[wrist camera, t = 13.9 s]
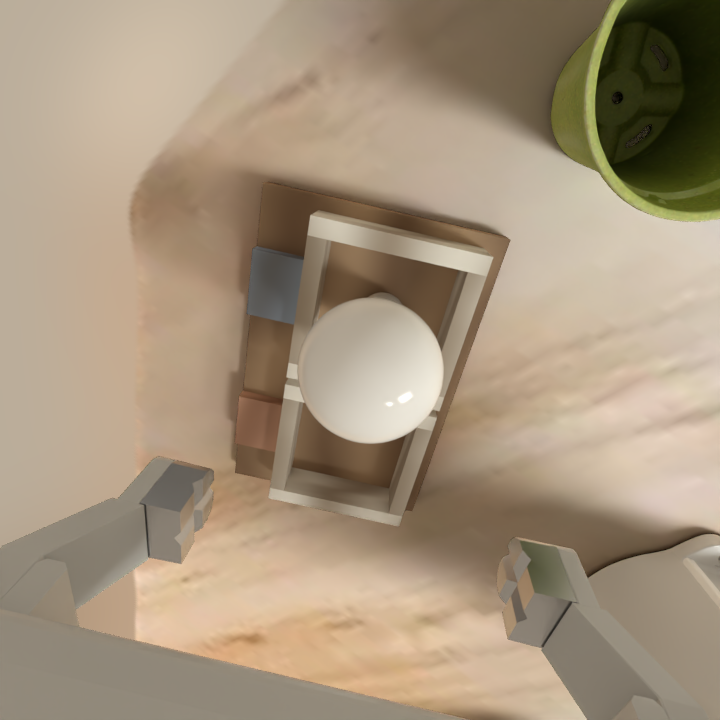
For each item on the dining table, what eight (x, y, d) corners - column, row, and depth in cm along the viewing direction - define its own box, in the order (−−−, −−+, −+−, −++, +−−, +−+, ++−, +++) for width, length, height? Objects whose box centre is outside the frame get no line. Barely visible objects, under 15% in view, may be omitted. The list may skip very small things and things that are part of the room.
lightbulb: (312, 288, 25) (245, 375, 15) (406, 237, 23) (399, 299, 13) (363, 371, 27) (333, 494, 17) (453, 331, 25) (476, 444, 15)
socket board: (506, 236, 24) (522, 247, 21) (411, 501, 33) (413, 537, 30) (268, 181, 23) (248, 184, 20) (239, 464, 33) (222, 496, 29)
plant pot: (756, 94, 20) (987, 49, 12) (586, 238, 23) (680, 275, 16) (649, -79, 18) (848, -270, 10) (478, 107, 21) (525, 75, 13)
